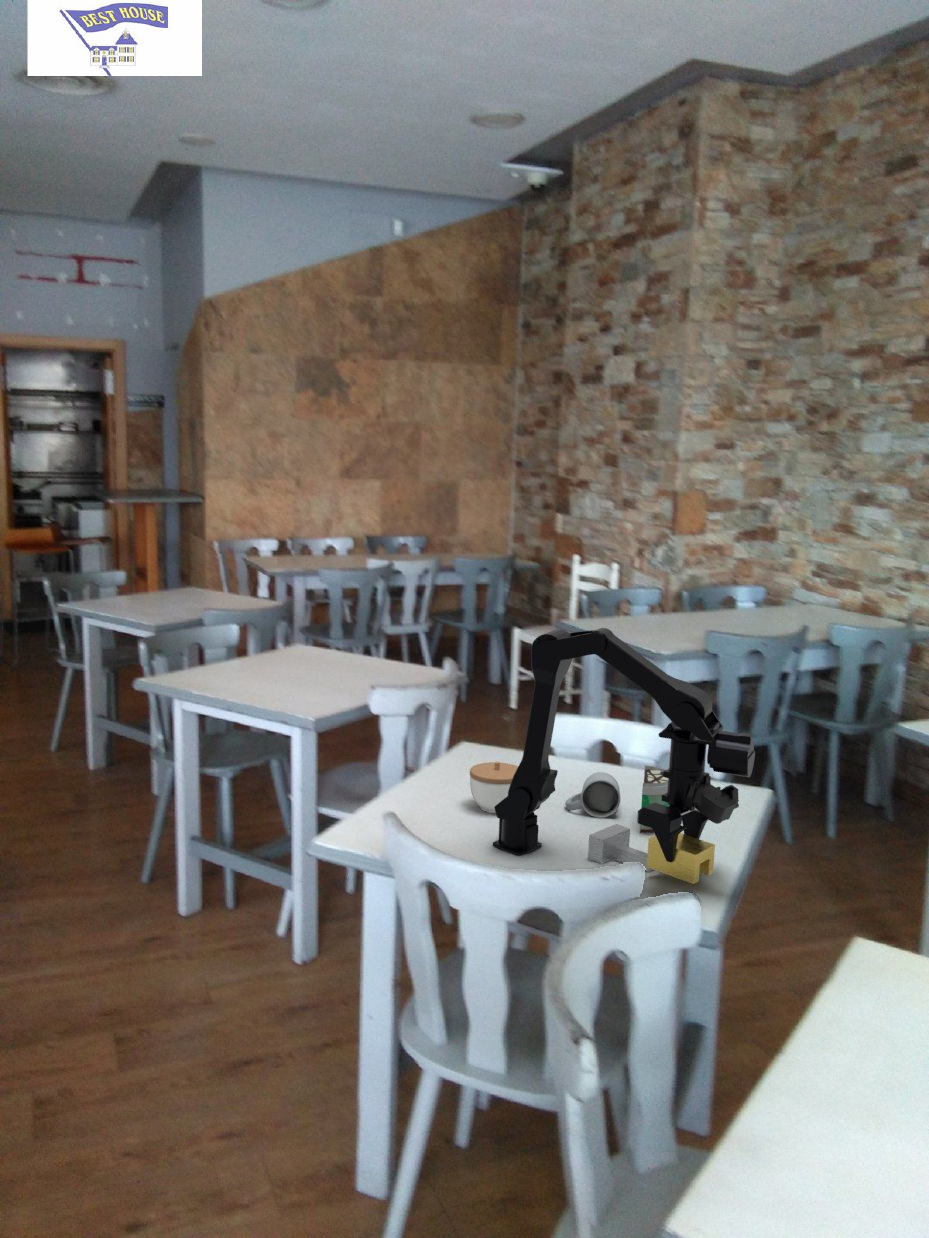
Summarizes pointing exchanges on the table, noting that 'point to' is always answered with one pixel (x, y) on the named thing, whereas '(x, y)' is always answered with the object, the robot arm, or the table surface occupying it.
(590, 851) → the rail
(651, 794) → the food container
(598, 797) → the ceramic mug
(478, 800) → the lidded jar
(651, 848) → the block
